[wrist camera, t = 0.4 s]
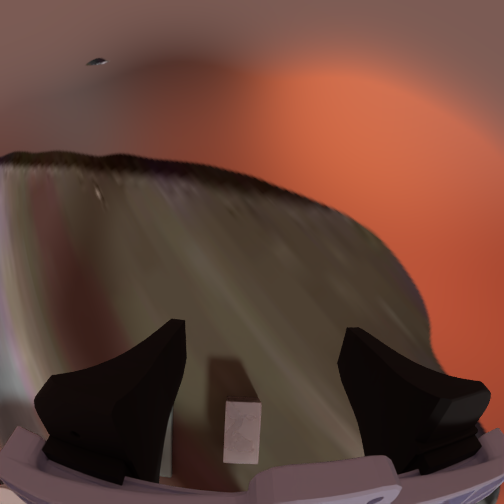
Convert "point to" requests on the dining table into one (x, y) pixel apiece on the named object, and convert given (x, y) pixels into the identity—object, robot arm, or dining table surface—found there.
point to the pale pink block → (242, 430)
